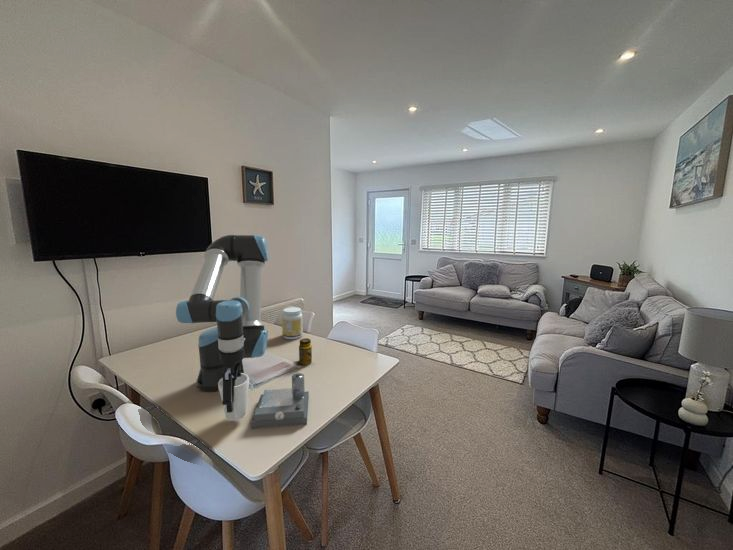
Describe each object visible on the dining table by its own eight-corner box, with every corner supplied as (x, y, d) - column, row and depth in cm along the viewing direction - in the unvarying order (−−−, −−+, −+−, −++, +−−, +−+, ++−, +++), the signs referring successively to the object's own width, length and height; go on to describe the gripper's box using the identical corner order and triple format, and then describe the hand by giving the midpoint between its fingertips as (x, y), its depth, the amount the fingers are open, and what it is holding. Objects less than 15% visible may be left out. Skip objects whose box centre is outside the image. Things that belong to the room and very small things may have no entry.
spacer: (291, 400, 106) (291, 379, 105) (292, 393, 110) (292, 373, 109) (304, 399, 107) (303, 378, 105) (304, 392, 111) (304, 372, 110)
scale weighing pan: (258, 411, 102) (258, 407, 101) (264, 393, 112) (264, 390, 112) (303, 408, 104) (302, 404, 104) (304, 391, 115) (304, 387, 114)
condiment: (314, 364, 143) (314, 341, 141) (298, 368, 139) (297, 344, 137) (308, 358, 149) (308, 336, 147) (292, 362, 145) (292, 339, 143)
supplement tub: (287, 331, 185) (286, 306, 182) (305, 333, 183) (305, 307, 181) (278, 339, 173) (278, 311, 170) (298, 340, 172) (298, 313, 169)
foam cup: (256, 410, 103) (255, 377, 100) (235, 427, 95) (232, 391, 92) (237, 403, 107) (235, 370, 104) (214, 418, 99) (211, 383, 96)
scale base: (251, 428, 98) (251, 413, 97) (261, 400, 113) (260, 387, 112) (306, 424, 100) (306, 409, 99) (308, 397, 116) (308, 384, 115)
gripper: (234, 363, 86) (238, 431, 90) (251, 334, 107) (254, 389, 112) (206, 365, 85) (212, 433, 89) (229, 335, 106) (233, 391, 110)
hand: (235, 409), depth 100 cm, fingers closed on foam cup, 9 cm apart
